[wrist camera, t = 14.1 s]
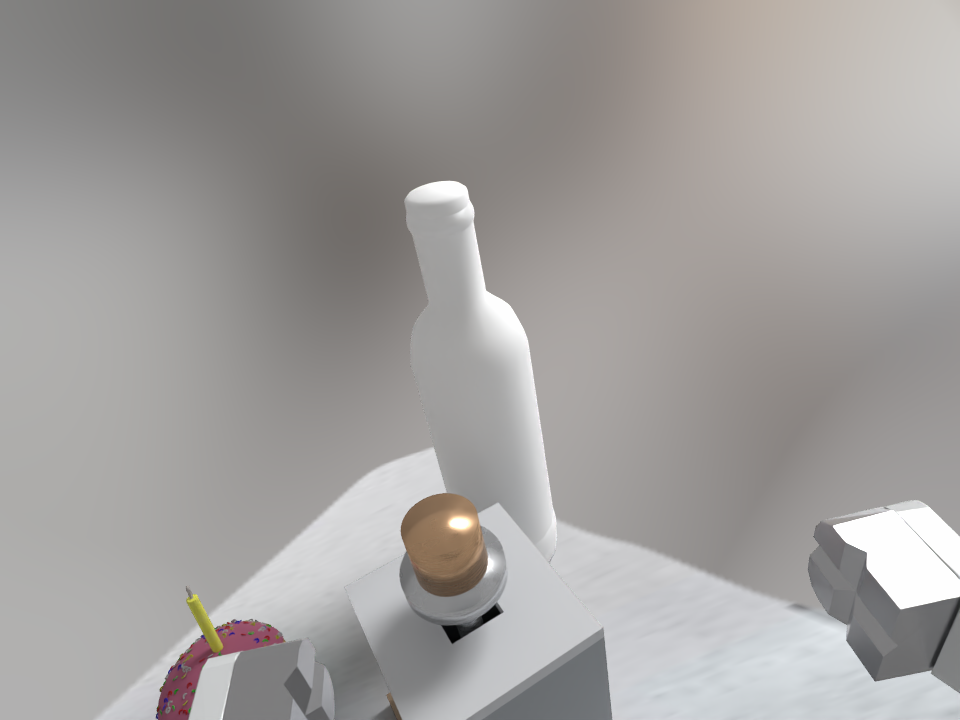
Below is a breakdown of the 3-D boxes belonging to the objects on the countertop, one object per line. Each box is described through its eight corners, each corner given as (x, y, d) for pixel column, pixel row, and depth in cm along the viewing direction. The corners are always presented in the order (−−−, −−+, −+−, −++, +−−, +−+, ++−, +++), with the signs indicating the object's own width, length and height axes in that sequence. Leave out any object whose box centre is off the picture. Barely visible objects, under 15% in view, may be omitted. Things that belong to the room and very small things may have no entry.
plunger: (517, 636, 42) (472, 442, 32) (585, 734, 36) (554, 535, 26) (418, 699, 40) (336, 511, 30) (474, 816, 34) (395, 630, 24)
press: (527, 617, 45) (501, 493, 38) (627, 755, 36) (618, 629, 29) (390, 704, 41) (332, 585, 34) (466, 879, 33) (410, 770, 26)
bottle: (443, 553, 51) (336, 208, 34) (503, 493, 55) (434, 162, 39) (518, 602, 46) (434, 228, 29) (577, 532, 50) (534, 172, 34)
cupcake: (206, 673, 45) (129, 572, 39) (319, 647, 46) (261, 542, 39) (175, 805, 38) (73, 709, 32) (309, 773, 39) (236, 670, 32)
